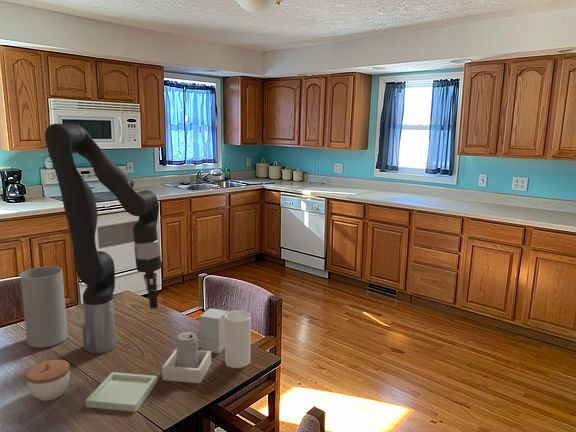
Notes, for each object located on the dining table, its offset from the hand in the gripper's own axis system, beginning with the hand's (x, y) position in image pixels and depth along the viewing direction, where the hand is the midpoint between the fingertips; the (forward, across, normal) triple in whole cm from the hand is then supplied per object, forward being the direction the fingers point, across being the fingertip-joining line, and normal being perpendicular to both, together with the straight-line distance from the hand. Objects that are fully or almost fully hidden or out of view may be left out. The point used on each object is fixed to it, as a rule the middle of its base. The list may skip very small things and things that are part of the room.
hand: (153, 303), depth 139 cm
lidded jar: (+18, +11, -30) cm, 37 cm away
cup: (+21, +11, +24) cm, 33 cm away
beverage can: (+20, +12, +8) cm, 24 cm away
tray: (+18, +18, -11) cm, 28 cm away
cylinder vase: (+17, -24, -36) cm, 46 cm away
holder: (+20, +12, +8) cm, 24 cm away
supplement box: (+20, -1, +18) cm, 27 cm away
